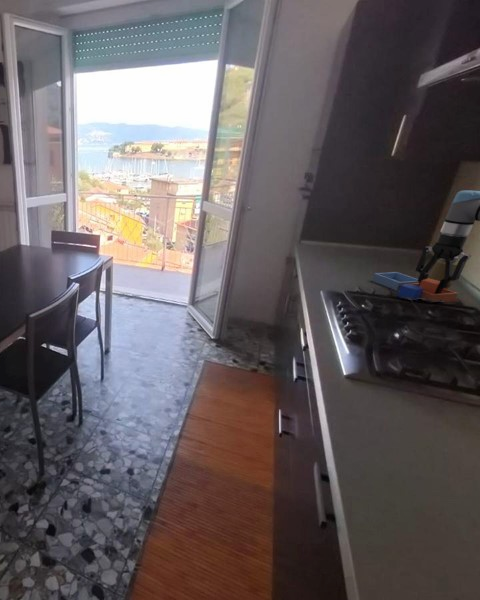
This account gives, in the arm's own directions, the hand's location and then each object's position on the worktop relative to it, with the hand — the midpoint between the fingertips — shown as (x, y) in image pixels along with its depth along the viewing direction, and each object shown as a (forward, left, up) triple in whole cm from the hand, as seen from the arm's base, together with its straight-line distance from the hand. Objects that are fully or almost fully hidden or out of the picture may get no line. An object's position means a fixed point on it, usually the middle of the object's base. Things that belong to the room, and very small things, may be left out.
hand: (428, 292), depth 140 cm
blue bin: (+13, 0, -2) cm, 13 cm away
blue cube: (0, +9, -2) cm, 9 cm away
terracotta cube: (0, 0, 0) cm, 0 cm away
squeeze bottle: (+6, -12, -2) cm, 13 cm away
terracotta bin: (0, 0, -2) cm, 2 cm away
